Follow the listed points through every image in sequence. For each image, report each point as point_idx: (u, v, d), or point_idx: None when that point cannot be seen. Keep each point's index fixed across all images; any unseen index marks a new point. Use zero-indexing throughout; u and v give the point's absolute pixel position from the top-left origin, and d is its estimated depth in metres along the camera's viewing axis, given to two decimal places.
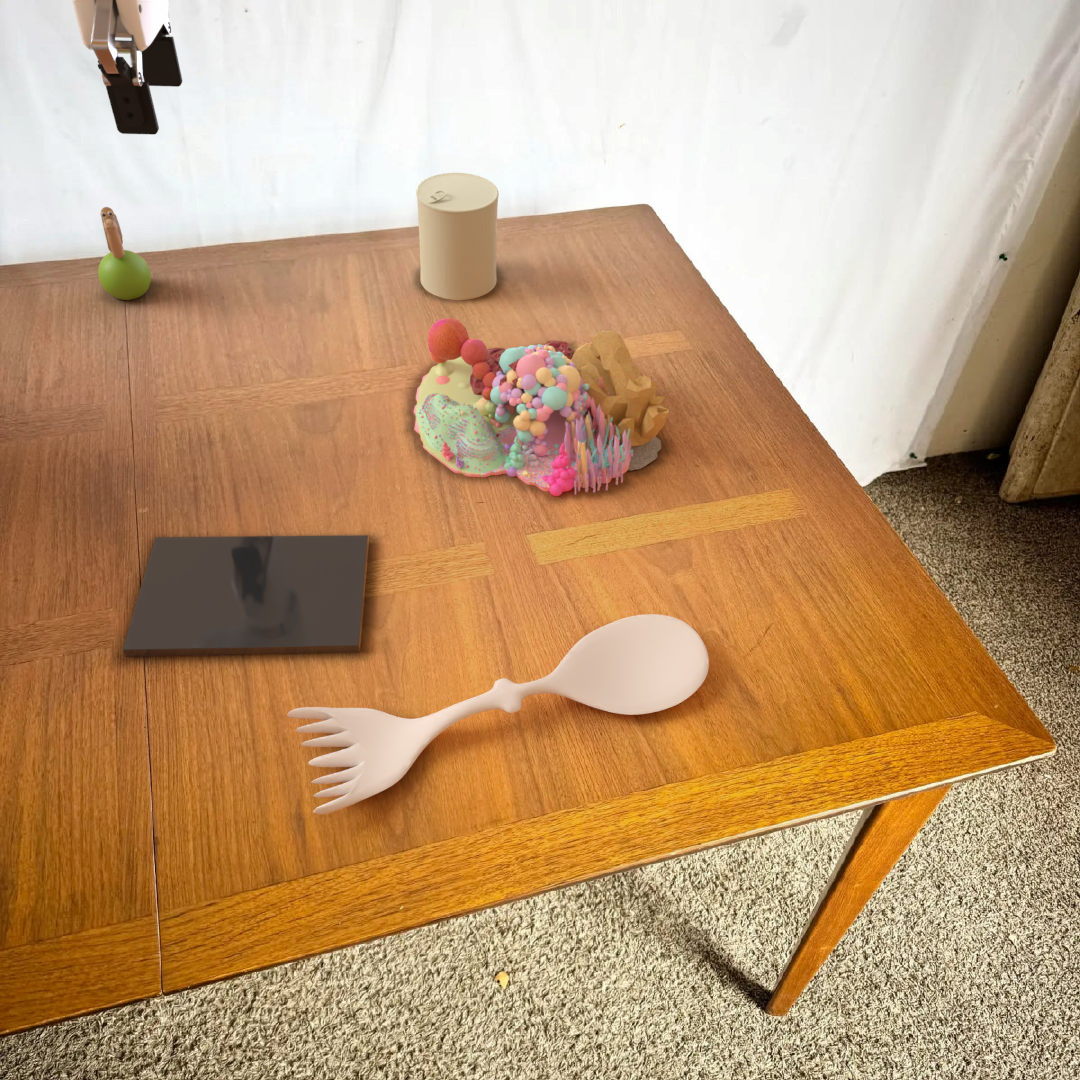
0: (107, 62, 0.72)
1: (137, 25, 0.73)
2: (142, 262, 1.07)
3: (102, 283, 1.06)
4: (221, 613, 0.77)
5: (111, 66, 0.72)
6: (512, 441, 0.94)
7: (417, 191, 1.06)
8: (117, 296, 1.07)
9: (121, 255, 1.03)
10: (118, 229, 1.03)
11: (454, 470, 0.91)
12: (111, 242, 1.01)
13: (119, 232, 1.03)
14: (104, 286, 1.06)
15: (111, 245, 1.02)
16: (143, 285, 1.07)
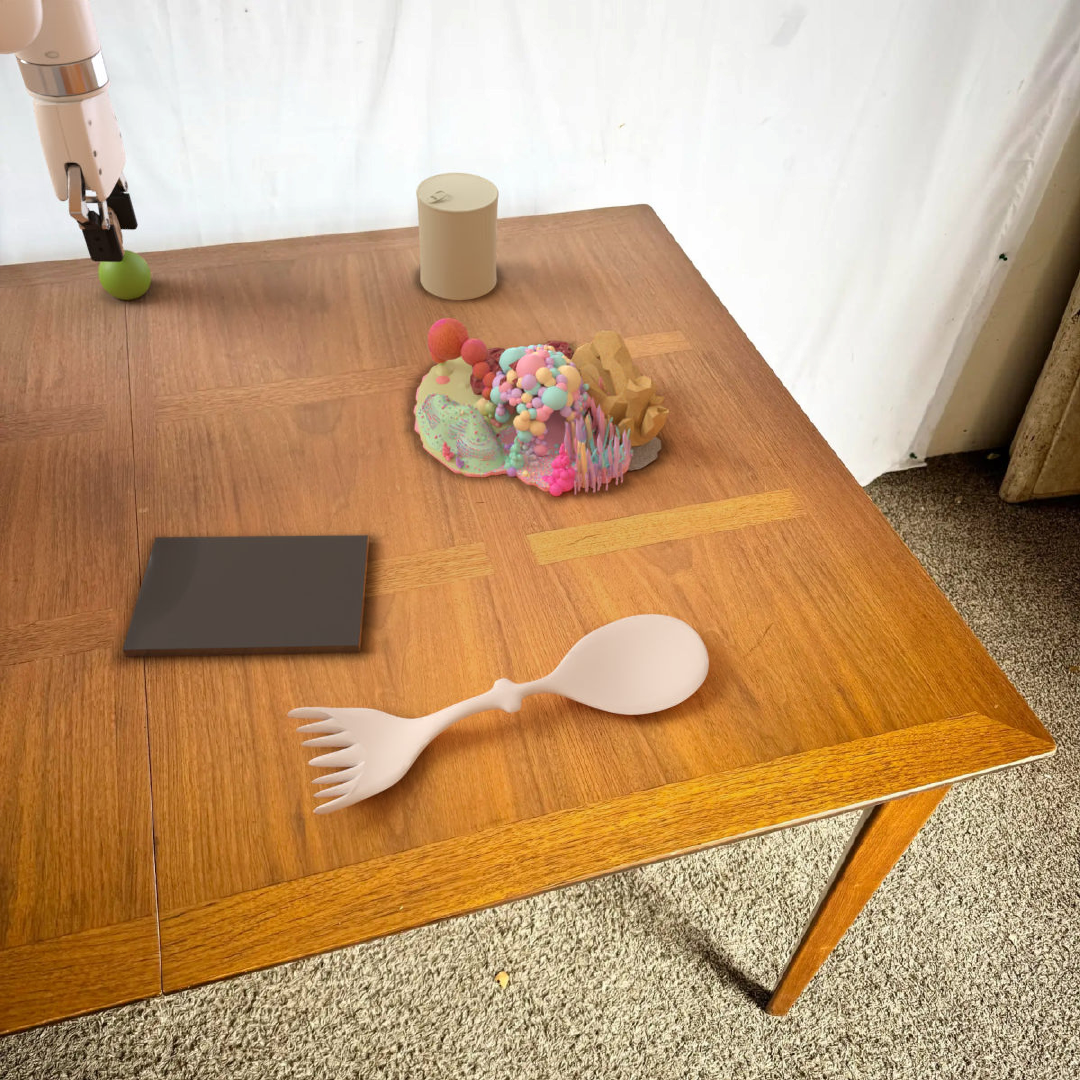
0: (82, 220, 0.95)
1: (98, 184, 0.94)
2: (142, 262, 1.07)
3: (102, 283, 1.06)
4: (221, 613, 0.77)
5: (85, 221, 0.95)
6: (512, 441, 0.94)
7: (417, 191, 1.06)
8: (117, 296, 1.07)
9: None
10: (118, 229, 1.03)
11: (454, 470, 0.91)
12: None
13: (119, 232, 1.03)
14: (104, 286, 1.06)
15: None
16: (143, 285, 1.07)
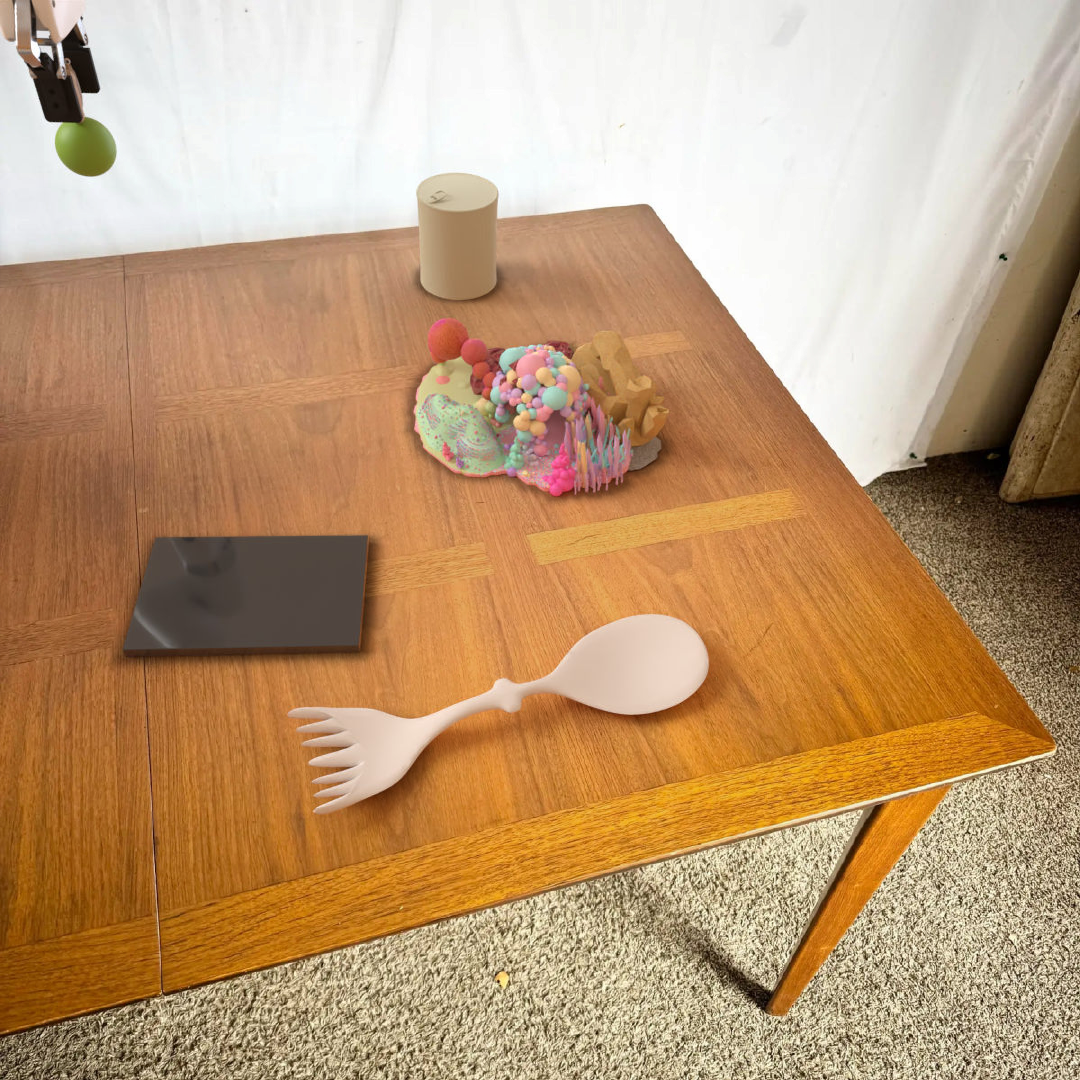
0: (33, 62, 0.81)
1: (51, 19, 0.81)
2: (106, 131, 0.93)
3: (59, 154, 0.92)
4: (221, 613, 0.77)
5: (36, 64, 0.81)
6: (512, 441, 0.94)
7: (417, 191, 1.06)
8: (77, 170, 0.93)
9: None
10: (77, 86, 0.89)
11: (454, 470, 0.91)
12: None
13: (78, 90, 0.89)
14: (62, 157, 0.92)
15: None
16: (107, 157, 0.93)
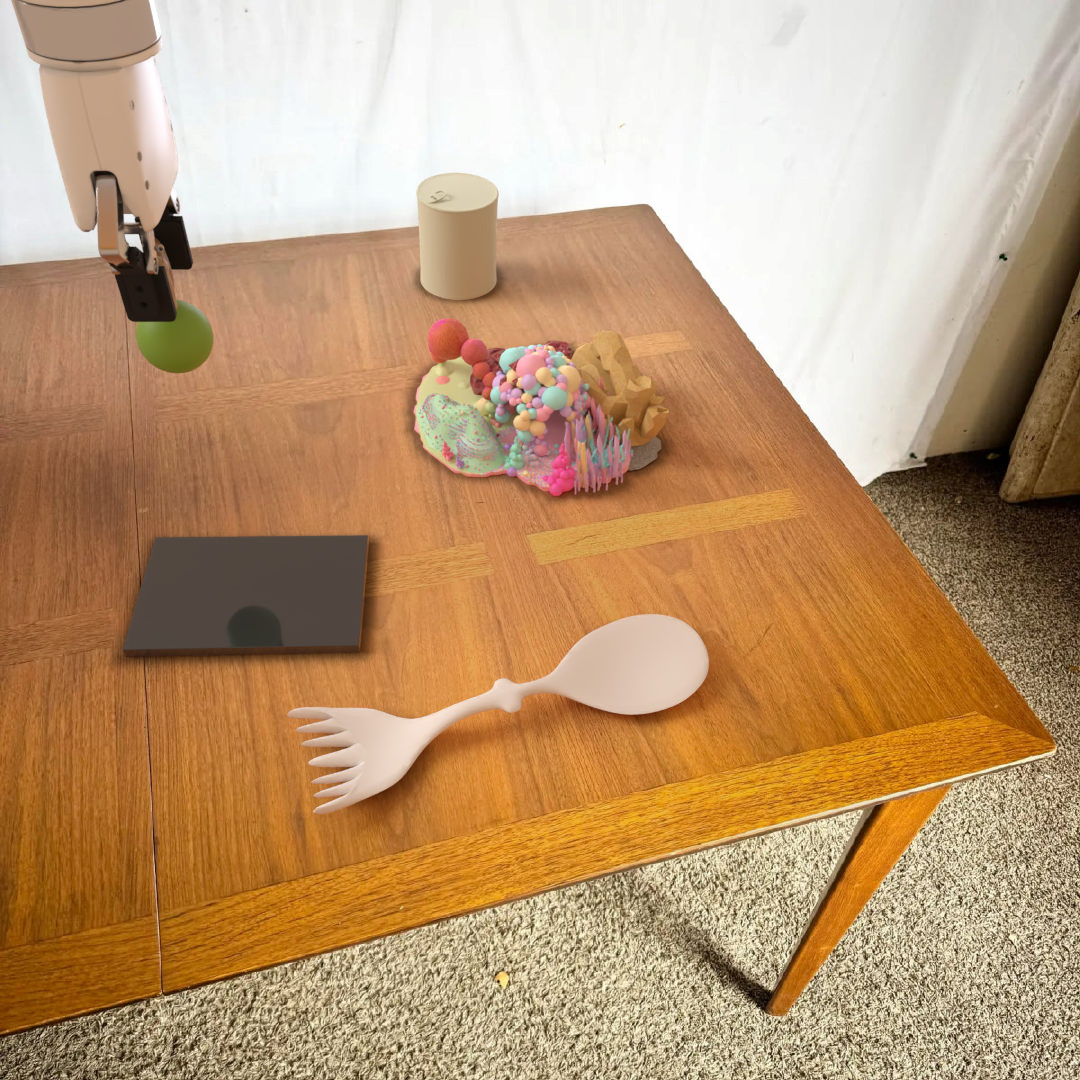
0: (118, 262, 0.60)
1: (144, 205, 0.59)
2: (202, 318, 0.71)
3: (143, 350, 0.71)
4: (221, 613, 0.77)
5: (123, 263, 0.60)
6: (512, 441, 0.94)
7: (417, 191, 1.06)
8: (165, 369, 0.71)
9: None
10: (169, 270, 0.67)
11: (454, 470, 0.91)
12: None
13: (170, 275, 0.67)
14: (146, 355, 0.71)
15: None
16: (203, 351, 0.71)
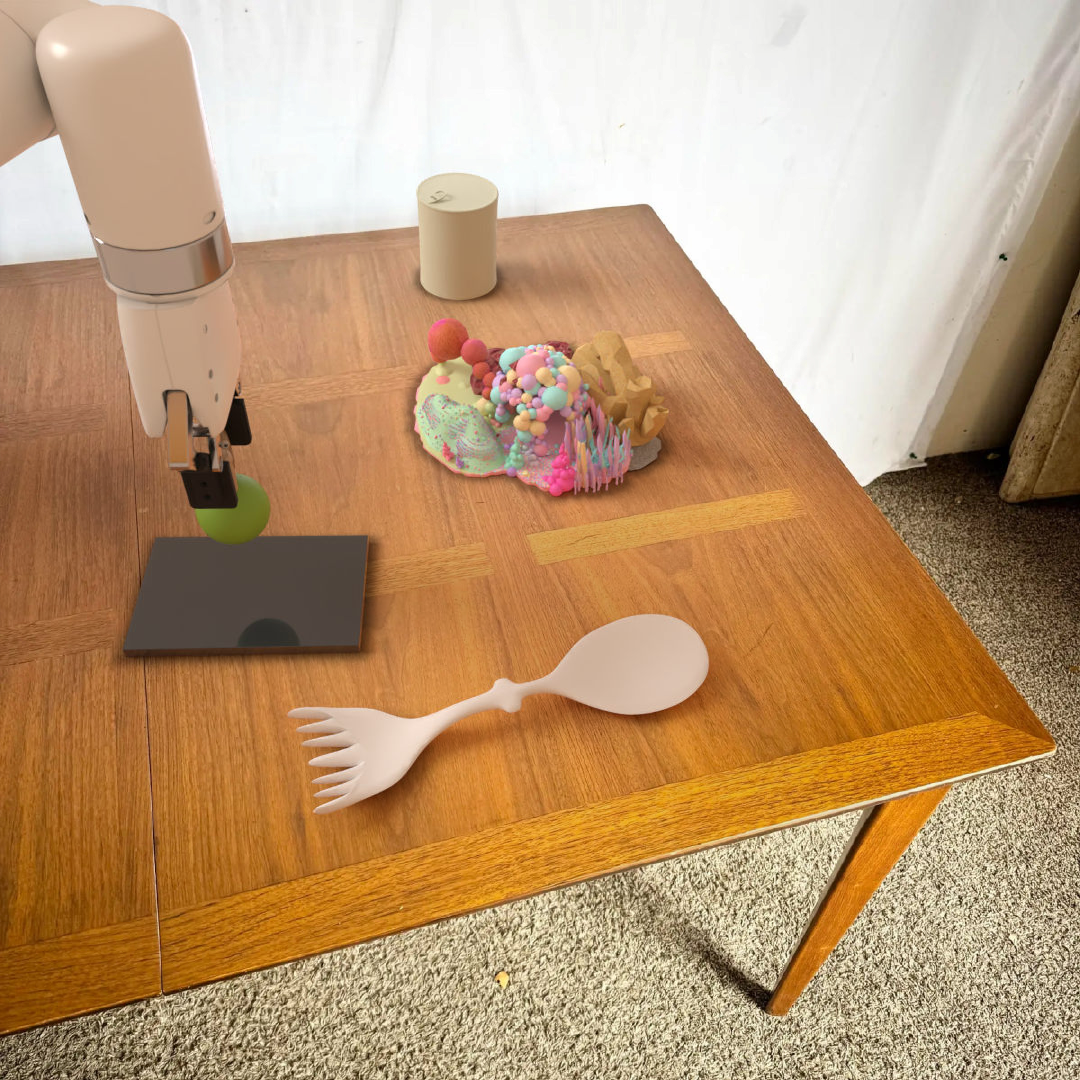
0: (187, 470, 0.60)
1: (213, 417, 0.60)
2: (261, 492, 0.72)
3: (202, 525, 0.71)
4: (221, 613, 0.77)
5: None
6: (512, 441, 0.94)
7: (417, 191, 1.06)
8: (223, 542, 0.72)
9: None
10: None
11: (454, 470, 0.91)
12: None
13: None
14: (205, 530, 0.71)
15: None
16: (261, 525, 0.72)
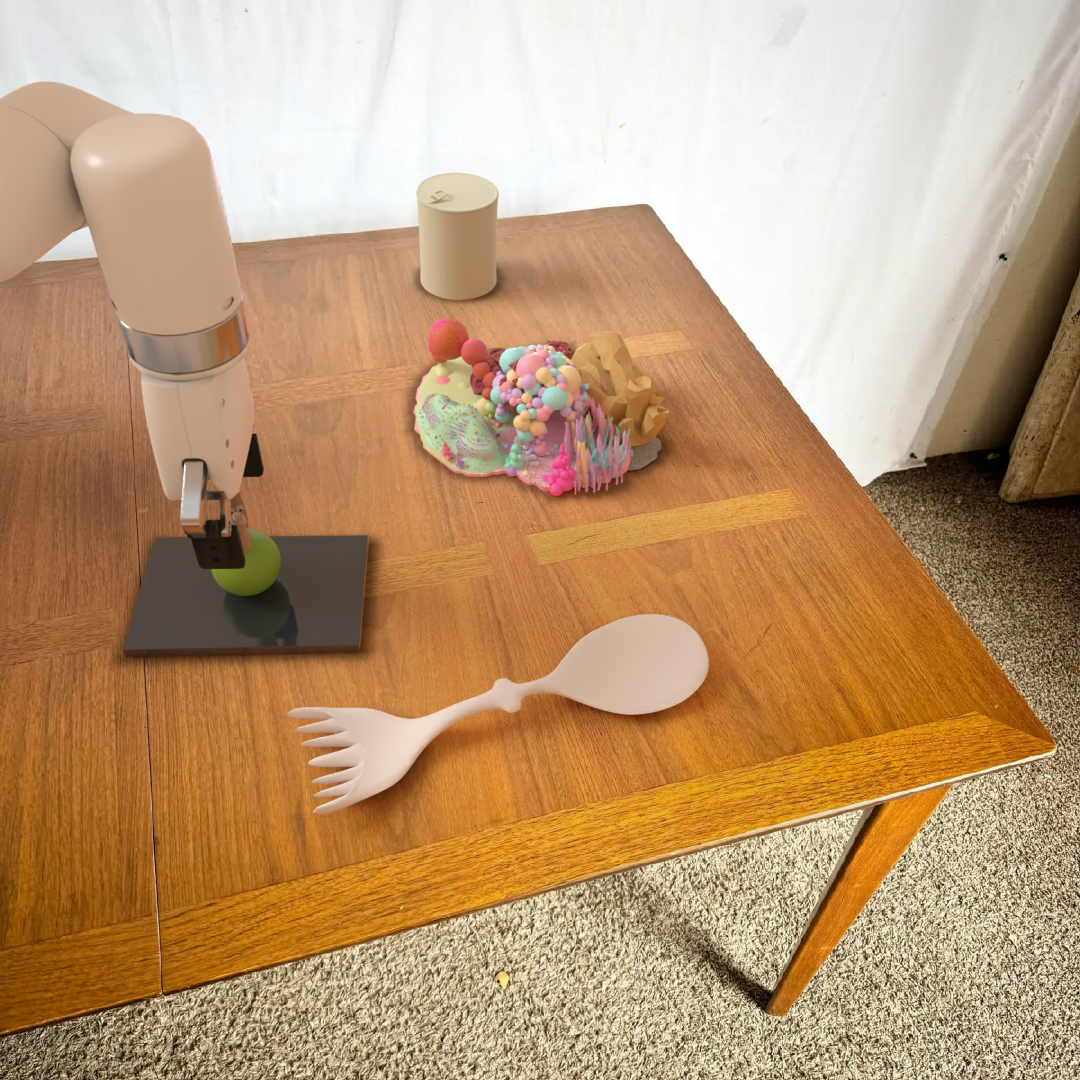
0: (196, 533, 0.62)
1: (229, 482, 0.64)
2: (272, 547, 0.76)
3: (217, 579, 0.76)
4: (221, 613, 0.77)
5: (200, 535, 0.63)
6: (512, 441, 0.94)
7: (417, 191, 1.06)
8: (236, 594, 0.76)
9: (248, 550, 0.73)
10: (244, 516, 0.72)
11: (454, 470, 0.91)
12: None
13: (245, 519, 0.72)
14: (219, 583, 0.76)
15: None
16: (272, 578, 0.76)
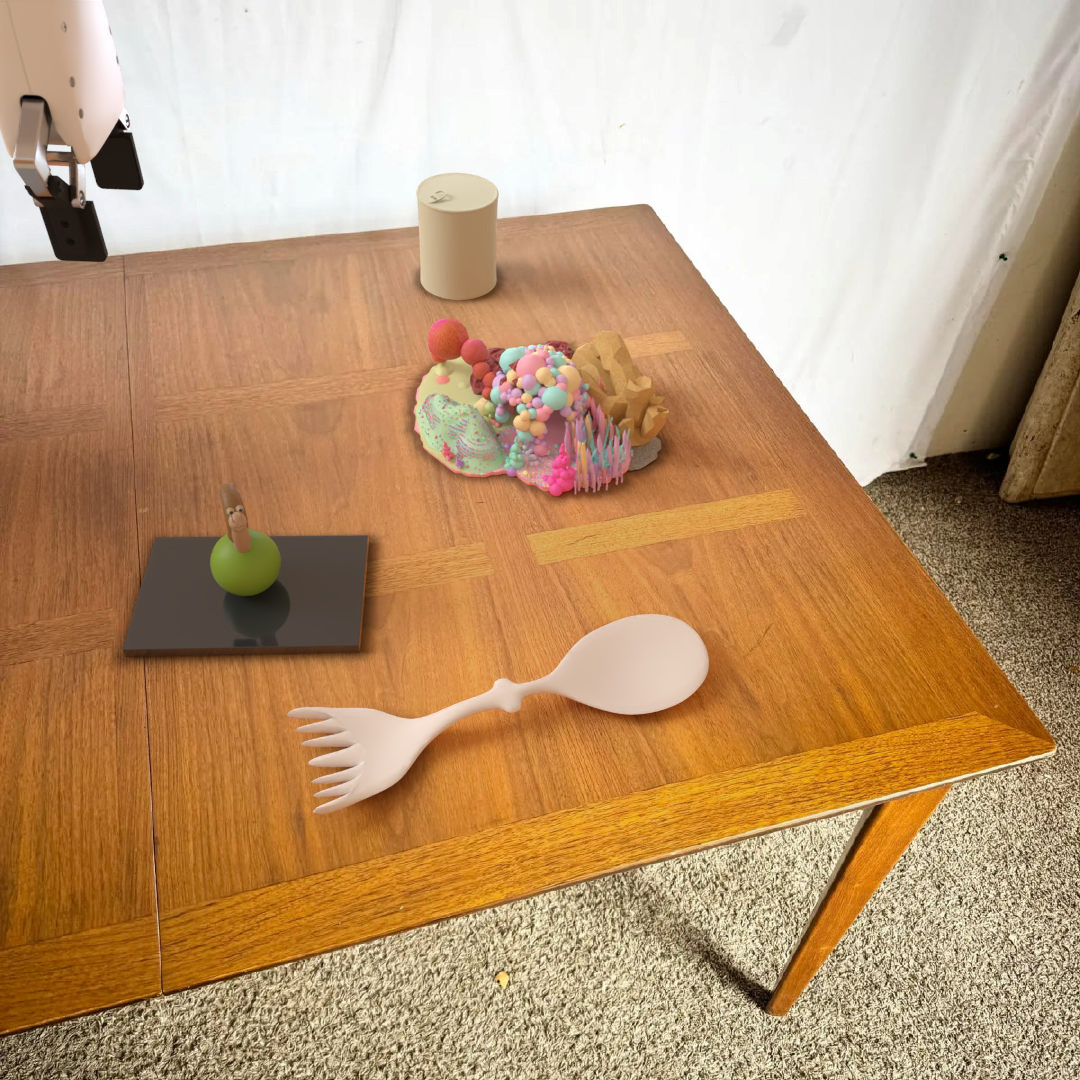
0: (36, 184, 0.56)
1: (77, 135, 0.57)
2: (272, 547, 0.76)
3: (217, 579, 0.76)
4: (221, 613, 0.77)
5: (41, 188, 0.56)
6: (512, 441, 0.94)
7: (417, 191, 1.06)
8: (236, 594, 0.76)
9: (248, 550, 0.73)
10: (244, 516, 0.72)
11: (454, 470, 0.91)
12: (237, 540, 0.71)
13: (245, 519, 0.72)
14: (219, 583, 0.76)
15: (237, 543, 0.71)
16: (272, 578, 0.76)
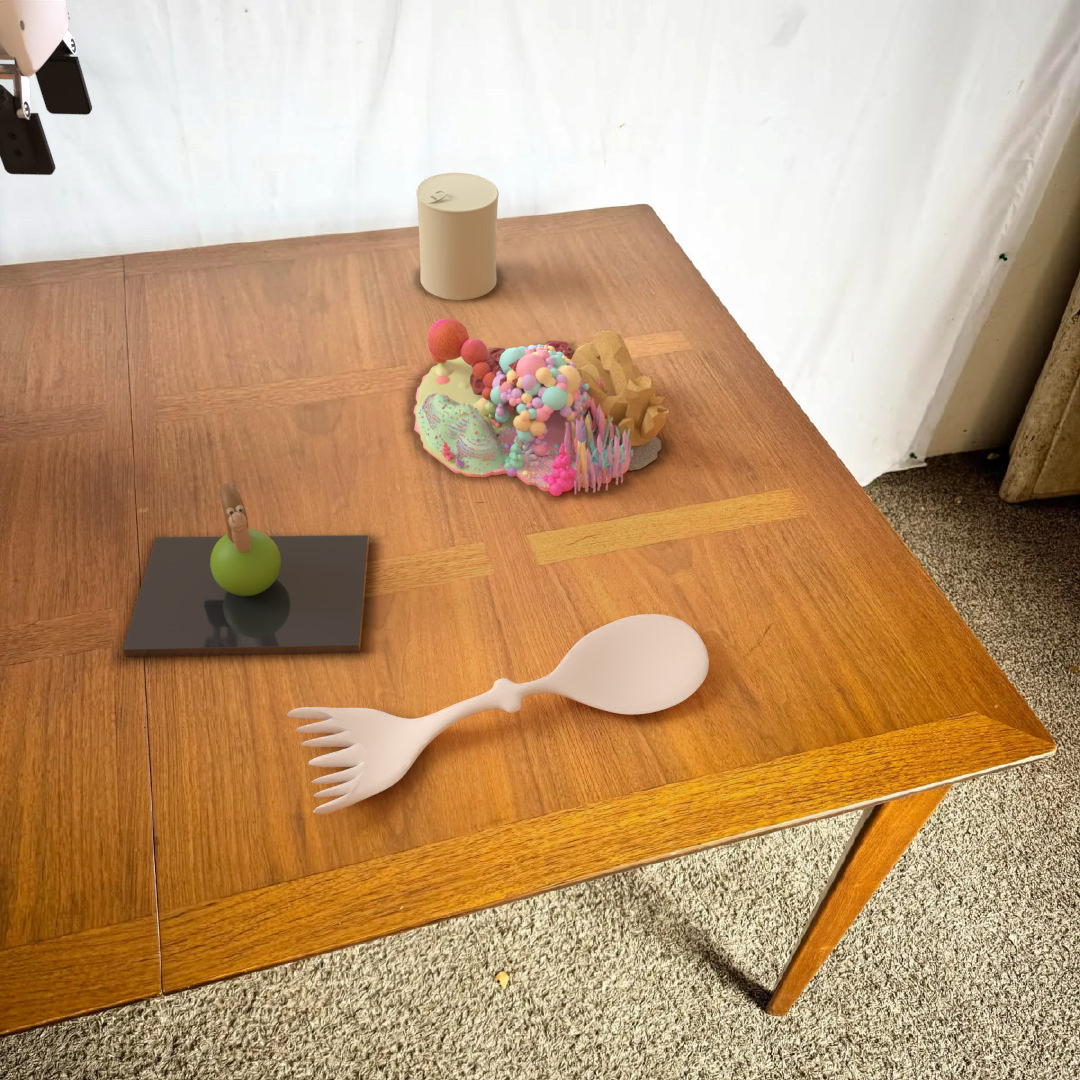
0: None
1: (19, 46, 0.60)
2: (272, 547, 0.76)
3: (217, 579, 0.76)
4: (221, 613, 0.77)
5: None
6: (512, 441, 0.94)
7: (417, 191, 1.06)
8: (236, 594, 0.76)
9: (248, 550, 0.73)
10: (244, 516, 0.72)
11: (454, 470, 0.91)
12: (237, 540, 0.71)
13: (245, 519, 0.72)
14: (219, 583, 0.76)
15: (237, 543, 0.71)
16: (272, 578, 0.76)
